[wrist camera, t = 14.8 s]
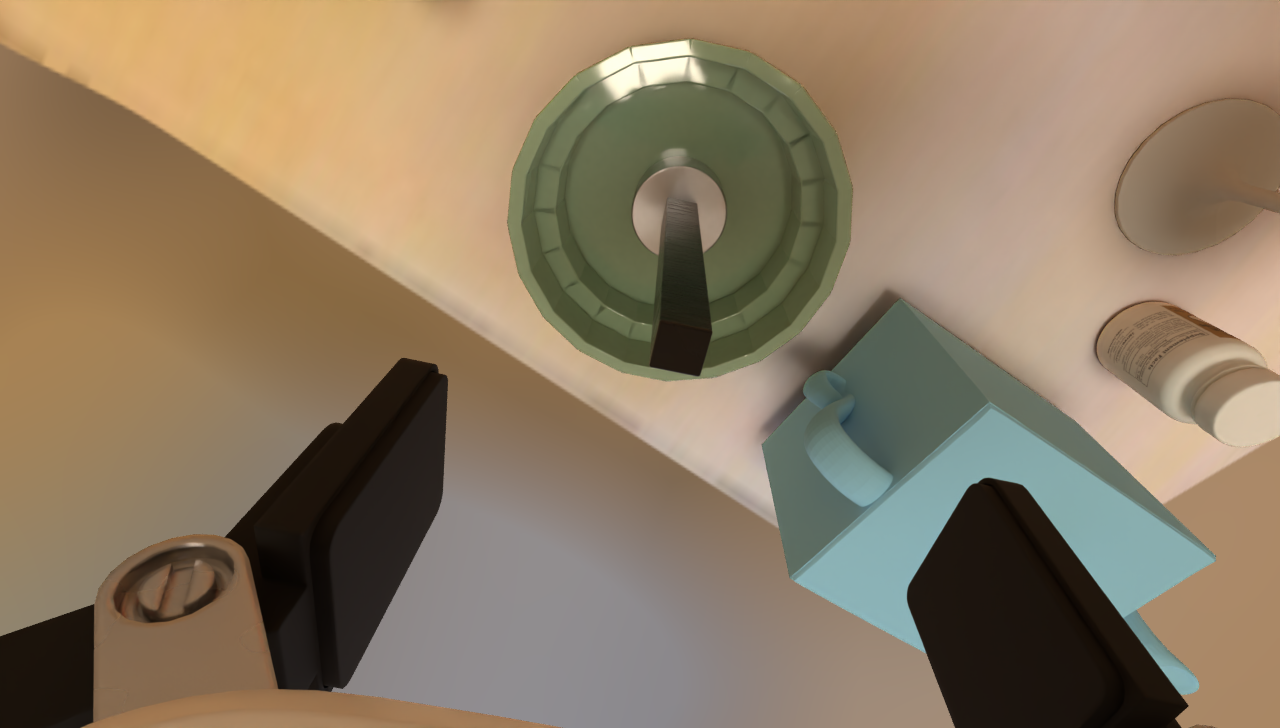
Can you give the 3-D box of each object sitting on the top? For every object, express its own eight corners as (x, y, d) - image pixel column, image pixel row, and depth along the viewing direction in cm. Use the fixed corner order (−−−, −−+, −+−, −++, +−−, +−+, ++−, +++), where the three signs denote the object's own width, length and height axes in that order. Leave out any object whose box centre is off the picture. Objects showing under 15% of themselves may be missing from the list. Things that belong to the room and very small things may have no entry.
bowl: (864, 78, 27) (909, 87, 22) (771, 349, 34) (788, 406, 29) (557, 8, 27) (527, 0, 21) (524, 299, 33) (495, 347, 28)
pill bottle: (1195, 343, 32) (1332, 423, 26) (1111, 385, 34) (1219, 472, 27) (1167, 282, 31) (1305, 351, 24) (1080, 330, 33) (1187, 407, 26)
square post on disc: (734, 166, 29) (788, 289, 15) (711, 253, 31) (739, 434, 17) (644, 147, 28) (611, 252, 14) (626, 235, 31) (584, 403, 17)
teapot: (721, 405, 36) (744, 592, 24) (849, 257, 31) (959, 395, 19) (982, 562, 41) (1112, 783, 29) (1128, 454, 36) (1356, 664, 24)
